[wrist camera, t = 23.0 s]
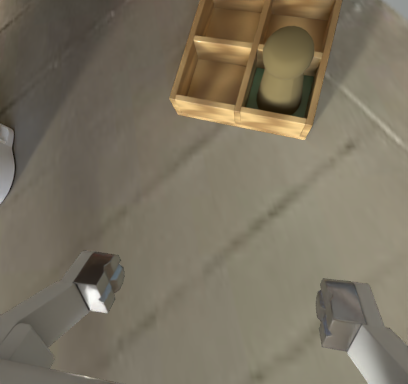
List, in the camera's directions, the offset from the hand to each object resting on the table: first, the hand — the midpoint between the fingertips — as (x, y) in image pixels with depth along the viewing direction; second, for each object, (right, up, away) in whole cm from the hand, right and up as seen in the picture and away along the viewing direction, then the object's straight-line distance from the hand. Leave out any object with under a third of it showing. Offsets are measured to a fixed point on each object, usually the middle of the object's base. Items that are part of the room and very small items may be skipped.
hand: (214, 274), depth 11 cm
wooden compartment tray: (+7, +21, +29) cm, 37 cm away
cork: (+10, +16, +27) cm, 33 cm away
